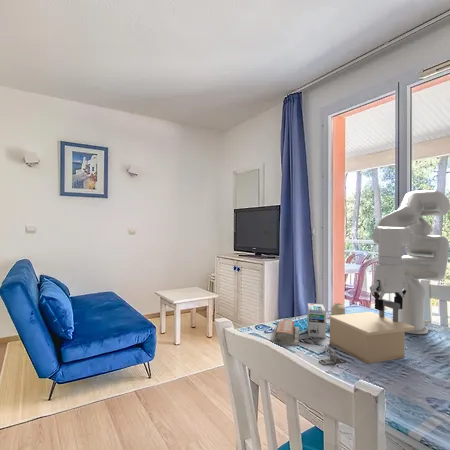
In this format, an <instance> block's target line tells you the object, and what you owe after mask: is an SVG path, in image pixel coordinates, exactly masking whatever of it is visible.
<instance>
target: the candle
mask: <svg viewBox="0 0 450 450" xmlns="http://www.w3.org/2000/svg"><path fill="white" fill-rule="evenodd" d="M330 309H331V310H330V311H331V313H330V316H332V315H342V314H346V307H345V305H343V304H342V303H340V302H339V303H338V302H334V304H332V305H331V308H330Z"/></svg>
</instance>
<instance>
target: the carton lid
mask: <svg viewBox="0 0 450 450" xmlns="http://www.w3.org/2000/svg"><path fill="white" fill-rule="evenodd" d="M382 300H383V311H380V310H378V312H379V313H376V312H373V311H368V312H367V311H366V312H365V311H364V312H353V313H345V314H342V315H332V316H331V315H329V317H328V318H329V319H332V320H334V321H336V322H338V323H341V324H343V325H345V326H347V327H350V328H352V329H354V330H356V331H359V332H361V333H363V334H365V335H368V336H370V335H378V334H386V333H394V332H402V331H410V330H415V327H414V326H411V325H408V324H405V323H402V322H400V321H398V310H399V309H400V304H399V303H396V302H394V301H392V300H388V299H384V298H382ZM385 307H387V308H389V309H392V318H391V317H388V316H385V311H386V310H385Z"/></svg>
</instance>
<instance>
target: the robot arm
mask: <svg viewBox="0 0 450 450" xmlns="http://www.w3.org/2000/svg"><path fill="white" fill-rule="evenodd" d="M449 211H450V200H449V198H448V197H447V196H446V194H444V193H443V192H442V191H440V190H435V189H434V190H433V189H432V190H430V189H429V190H414V191H410V192H407V193H405V195H404V196H403V198H402V200H401V202H400V204H399V206H398V207H397V210H393V211H392V212H391V213H388V214H386V215H384V216H383V217H381V218H380V219H379V220H378V221H377V223H376V225H375V227H374V229H373V231H372V241H373V243H374V244H375V245H377V246H378V255H377V256H378V259H377V260H378V261H377V262H378V263H377V264H376V266H375V270H374V275H373V283H372V285H371V286H370V285H369V290H370V293H371V295H372V297H373V299H374V309H375V310H377V311H379V310H380V311H383V300H382V299H384V296H385V294H394V297H393V302H396V303H399V304H400V309H399V310H398V321H400V322H402V323H405V324H408V325H411V326H414V327H415V330H410V331H405V333H406V334H412V335H427V334H428V333H429V329H428V328H427V327H426V326H427V325H432V321H431V320H430V319H425V293H426V292H425V287H424V286H423V284H422V283H421V281H420V280H425V281H434V282H438V281H439V282H440V281H442V280H443V279H444V278H445V277H446V272H447V266H448V260H449V253H450V243H449V240H448V238H447V237H445V236H443V235H438V234H431V233H432V227H431V225H430V223H429V222H428V221H427V220H426V219H425V218H423V217H422V216H424V217H425V216H426V217H428V216H429V217H430V216H431V217H432V216H435V217H438V216H439V217H440V216H441V217H442V216H445V215H447V214H449ZM403 248H404V251H405V252H406V253H407V254H408V255H406V254H405V255H403V254H402V253H403Z"/></svg>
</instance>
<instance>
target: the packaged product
mask: <svg viewBox="0 0 450 450" xmlns="http://www.w3.org/2000/svg"><path fill="white" fill-rule="evenodd" d="M299 338H300V327H299V326H295V321H294V320H291V319H286V320H279V321H278V322H277V324H276V325H275V326H274V330H273V333H272V336H271V341H270V343H271V342H272V341H273V342H275V343H274V344H279V345H289V346H298V345H299V340H300V339H299Z"/></svg>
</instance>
